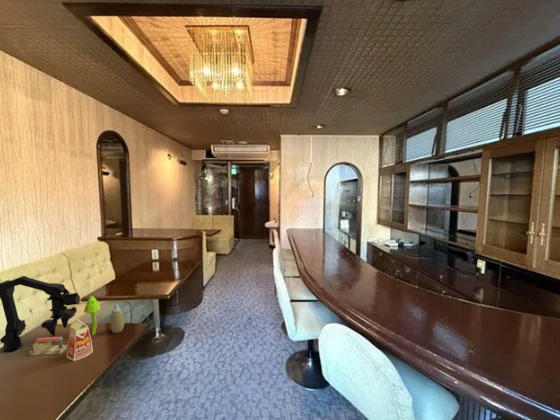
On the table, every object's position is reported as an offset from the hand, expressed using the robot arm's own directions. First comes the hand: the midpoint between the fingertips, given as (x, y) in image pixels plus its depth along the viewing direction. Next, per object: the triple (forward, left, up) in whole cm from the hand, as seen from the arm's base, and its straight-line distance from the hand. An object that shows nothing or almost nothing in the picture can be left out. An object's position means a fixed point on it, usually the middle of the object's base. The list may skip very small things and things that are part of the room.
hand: (59, 331), depth 157 cm
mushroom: (+14, +7, -7) cm, 18 cm away
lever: (+1, -10, 0) cm, 10 cm away
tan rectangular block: (-3, -10, -5) cm, 11 cm away
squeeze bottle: (+27, +10, -7) cm, 30 cm away
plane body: (0, -10, -7) cm, 12 cm away
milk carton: (+20, -15, -7) cm, 26 cm away
